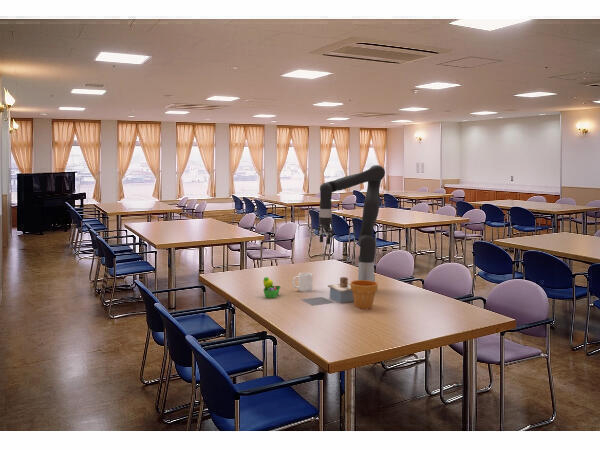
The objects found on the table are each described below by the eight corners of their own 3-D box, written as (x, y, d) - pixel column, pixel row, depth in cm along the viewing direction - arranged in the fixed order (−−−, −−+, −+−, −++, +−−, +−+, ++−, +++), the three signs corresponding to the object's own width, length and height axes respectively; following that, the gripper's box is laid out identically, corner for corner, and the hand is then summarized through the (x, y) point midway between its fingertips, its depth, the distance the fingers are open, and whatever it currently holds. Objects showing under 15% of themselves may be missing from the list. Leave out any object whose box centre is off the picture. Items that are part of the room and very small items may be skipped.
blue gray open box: (346, 297, 303) (346, 285, 302) (357, 301, 293) (357, 289, 292) (329, 299, 297) (330, 286, 297) (340, 303, 288) (340, 291, 287)
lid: (347, 284, 303) (347, 274, 302) (360, 289, 292) (360, 278, 291) (327, 286, 297) (327, 276, 296) (340, 291, 286) (340, 281, 285)
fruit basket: (275, 299, 295) (276, 279, 294) (260, 298, 297) (260, 278, 296) (280, 294, 306) (280, 275, 305) (265, 293, 308) (266, 274, 307)
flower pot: (373, 311, 273) (374, 286, 272) (347, 308, 278) (347, 284, 276) (379, 304, 286) (380, 281, 285) (353, 302, 291) (354, 279, 290)
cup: (313, 291, 314) (313, 275, 313) (293, 292, 312) (294, 275, 310) (310, 288, 322) (310, 272, 321) (291, 289, 320) (291, 272, 318)
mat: (322, 297, 300) (322, 296, 300) (335, 303, 288) (335, 302, 288) (300, 300, 294) (300, 299, 294) (312, 306, 281) (312, 305, 281)
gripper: (337, 217, 312) (336, 244, 314) (324, 215, 325) (324, 241, 326) (326, 217, 309) (325, 245, 310) (314, 215, 321) (313, 241, 323)
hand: (324, 243), depth 318 cm, fingers open, 8 cm apart
